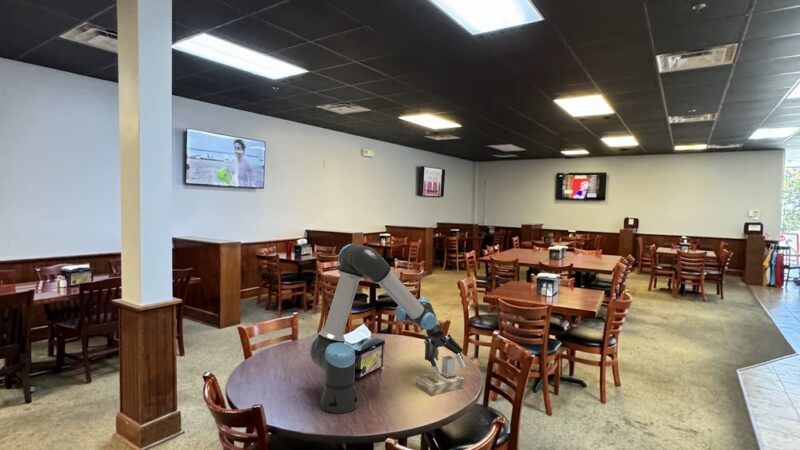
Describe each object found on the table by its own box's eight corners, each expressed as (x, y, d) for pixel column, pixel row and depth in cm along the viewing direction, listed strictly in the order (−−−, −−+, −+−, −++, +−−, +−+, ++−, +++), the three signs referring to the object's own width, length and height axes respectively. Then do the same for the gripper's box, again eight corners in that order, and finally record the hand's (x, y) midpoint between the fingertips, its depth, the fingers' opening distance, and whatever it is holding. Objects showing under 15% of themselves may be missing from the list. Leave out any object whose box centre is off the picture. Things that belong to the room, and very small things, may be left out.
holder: (430, 395, 180) (431, 386, 180) (415, 385, 191) (415, 376, 190) (464, 387, 190) (464, 378, 189) (447, 377, 200) (448, 369, 200)
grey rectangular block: (446, 386, 190) (447, 359, 189) (441, 383, 193) (442, 357, 192) (454, 384, 192) (454, 358, 191) (448, 381, 195) (449, 355, 195)
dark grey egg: (427, 361, 219) (428, 345, 219) (423, 357, 226) (423, 340, 225) (440, 360, 221) (440, 344, 220) (435, 356, 227) (436, 339, 227)
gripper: (414, 327, 193) (432, 371, 181) (457, 320, 206) (477, 361, 194) (407, 335, 198) (424, 379, 186) (450, 328, 211) (469, 369, 199)
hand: (451, 370), depth 190 cm, fingers open, 13 cm apart
